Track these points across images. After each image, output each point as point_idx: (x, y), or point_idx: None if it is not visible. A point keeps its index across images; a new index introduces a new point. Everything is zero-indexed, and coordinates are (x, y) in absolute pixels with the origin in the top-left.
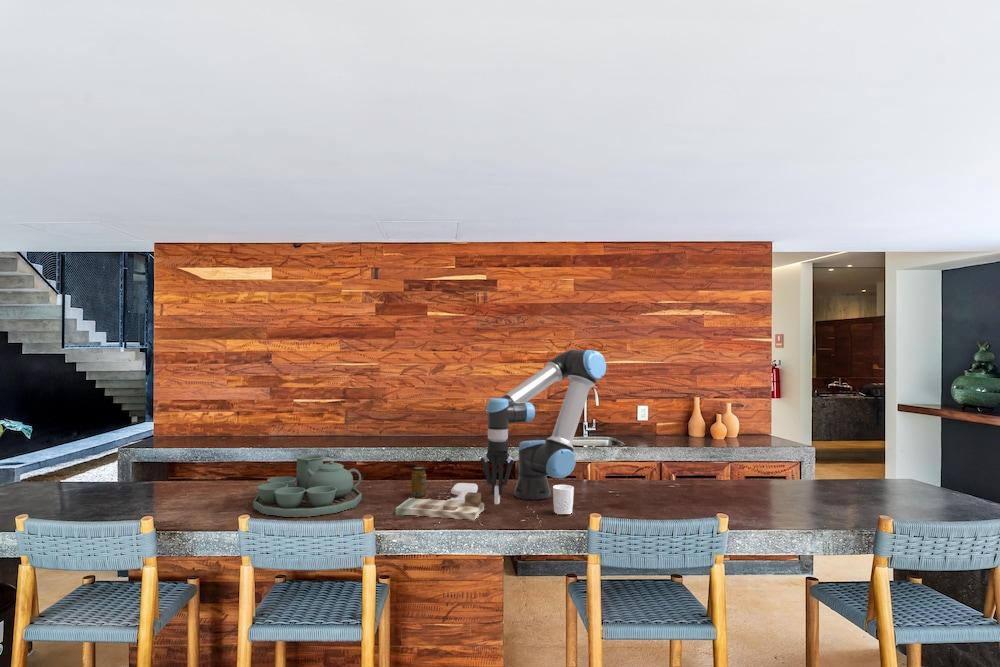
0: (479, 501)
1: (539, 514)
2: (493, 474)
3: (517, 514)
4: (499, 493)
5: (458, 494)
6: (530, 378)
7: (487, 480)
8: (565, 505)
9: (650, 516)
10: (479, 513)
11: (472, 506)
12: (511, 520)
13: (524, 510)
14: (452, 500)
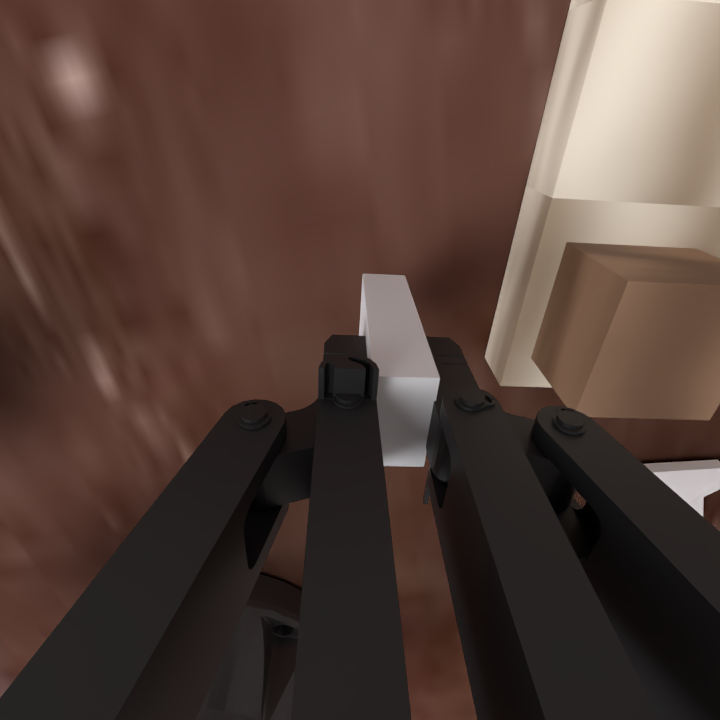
0: (561, 322)
1: (22, 305)
2: (538, 568)
3: (197, 271)
4: (357, 344)
5: None
6: None
7: (607, 450)
8: None
9: None
10: (531, 188)
11: (620, 245)
12: (187, 39)
13: (180, 385)
14: (711, 468)
